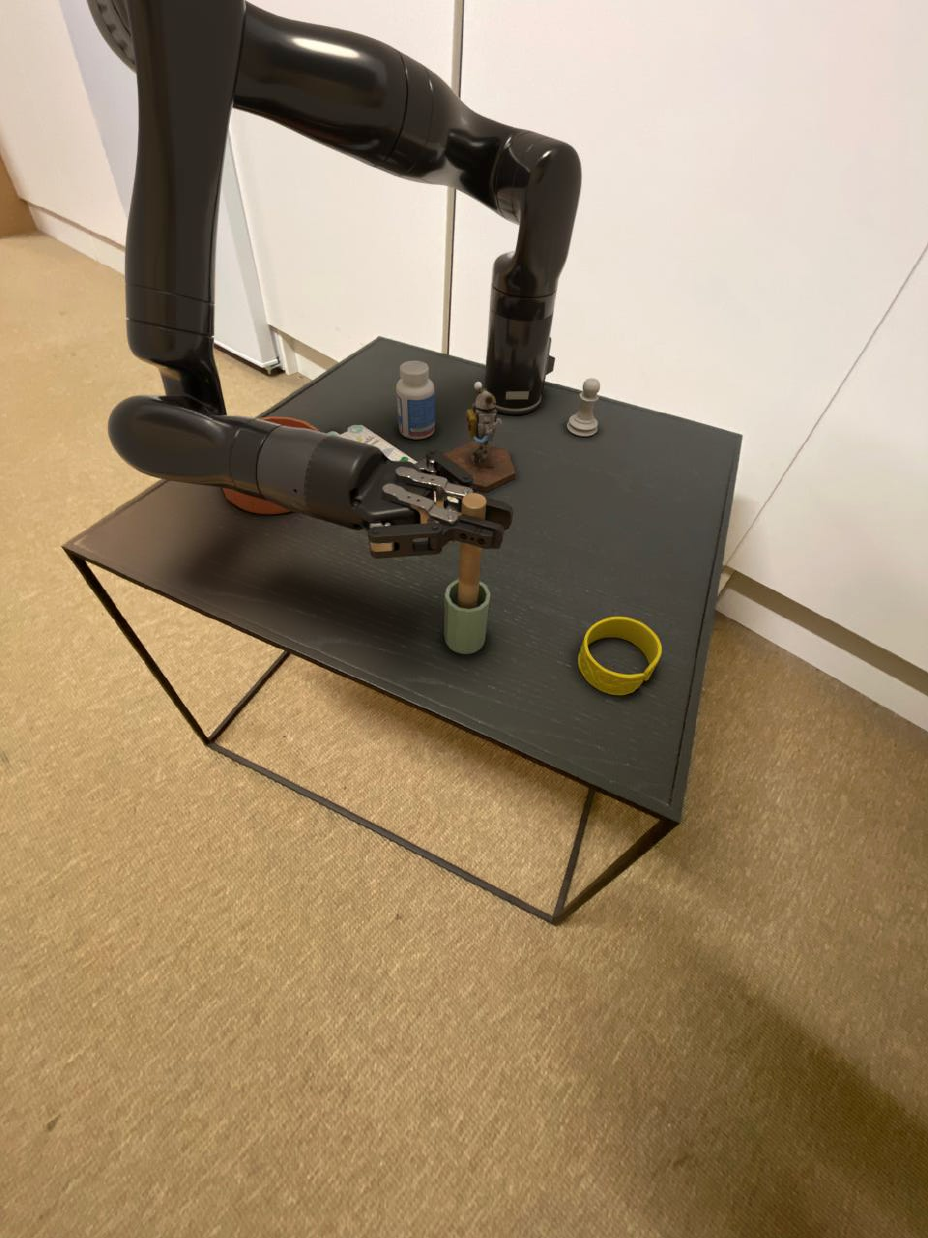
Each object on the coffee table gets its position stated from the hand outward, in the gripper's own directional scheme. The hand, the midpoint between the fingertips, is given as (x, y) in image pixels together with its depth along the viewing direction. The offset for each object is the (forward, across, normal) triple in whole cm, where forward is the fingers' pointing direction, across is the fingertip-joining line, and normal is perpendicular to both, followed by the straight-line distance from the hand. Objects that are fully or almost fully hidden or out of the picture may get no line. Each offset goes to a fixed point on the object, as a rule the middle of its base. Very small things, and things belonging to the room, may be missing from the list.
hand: (506, 527), depth 47 cm
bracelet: (+13, +3, +17) cm, 21 cm away
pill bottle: (-24, +34, +17) cm, 45 cm away
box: (-23, +21, +17) cm, 35 cm away
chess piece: (0, +45, +17) cm, 48 cm away
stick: (-3, 0, +16) cm, 16 cm away
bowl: (-36, +15, +17) cm, 42 cm away
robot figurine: (-12, +29, +17) cm, 35 cm away
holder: (-3, 0, +17) cm, 17 cm away
